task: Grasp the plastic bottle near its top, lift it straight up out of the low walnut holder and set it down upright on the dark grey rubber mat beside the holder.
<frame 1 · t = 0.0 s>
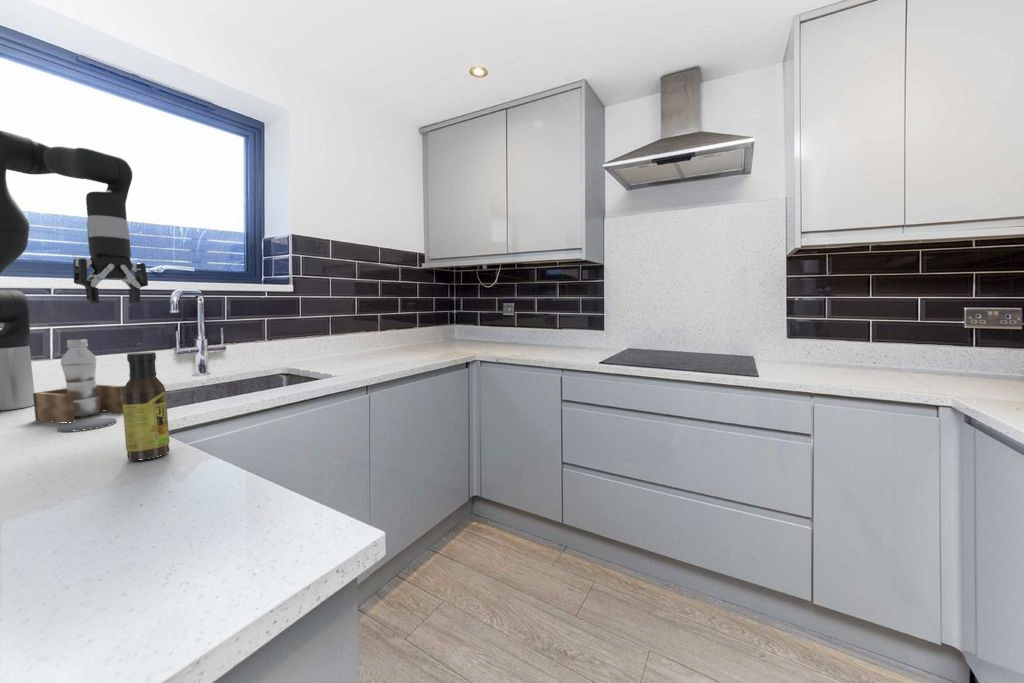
hand: (114, 303, 106), 29 cm above the worktop, tool pointing down, fingers open, 8 cm apart
holder: (84, 416, 111), on the worktop
mat: (88, 425, 102), on the worktop
sauce bottle: (149, 457, 81), on the worktop
plastic bottle: (84, 416, 111), resting in holder
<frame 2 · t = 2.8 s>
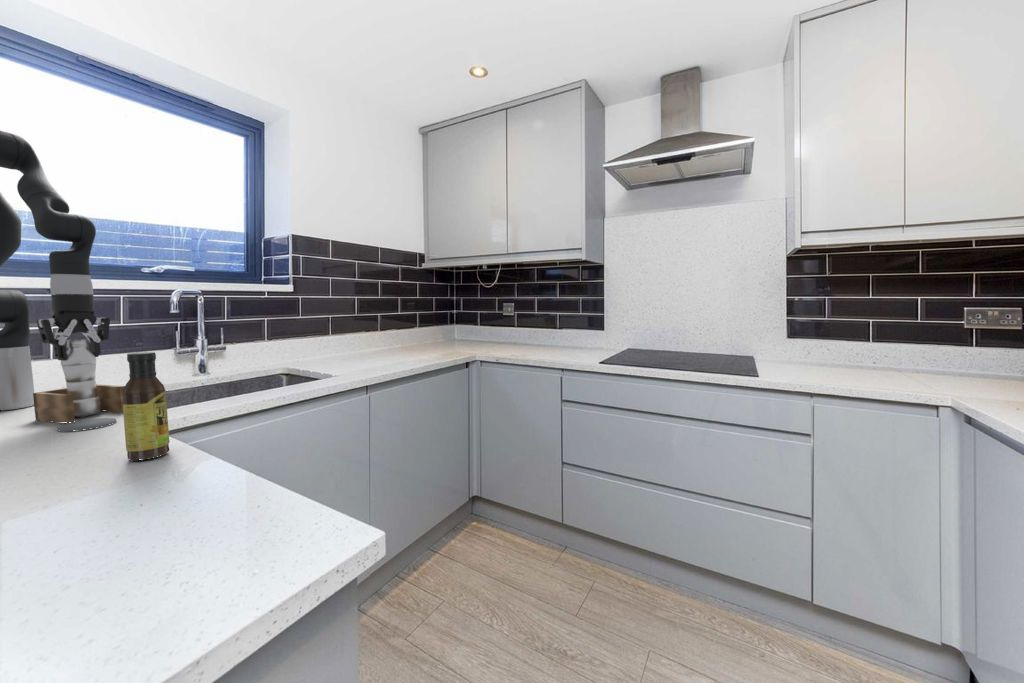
hand: (78, 358, 110), 15 cm above the worktop, tool pointing down, fingers closed on plastic bottle, 6 cm apart
plastic bottle: (84, 416, 111), resting in holder, touching gripper
everything else where it was.
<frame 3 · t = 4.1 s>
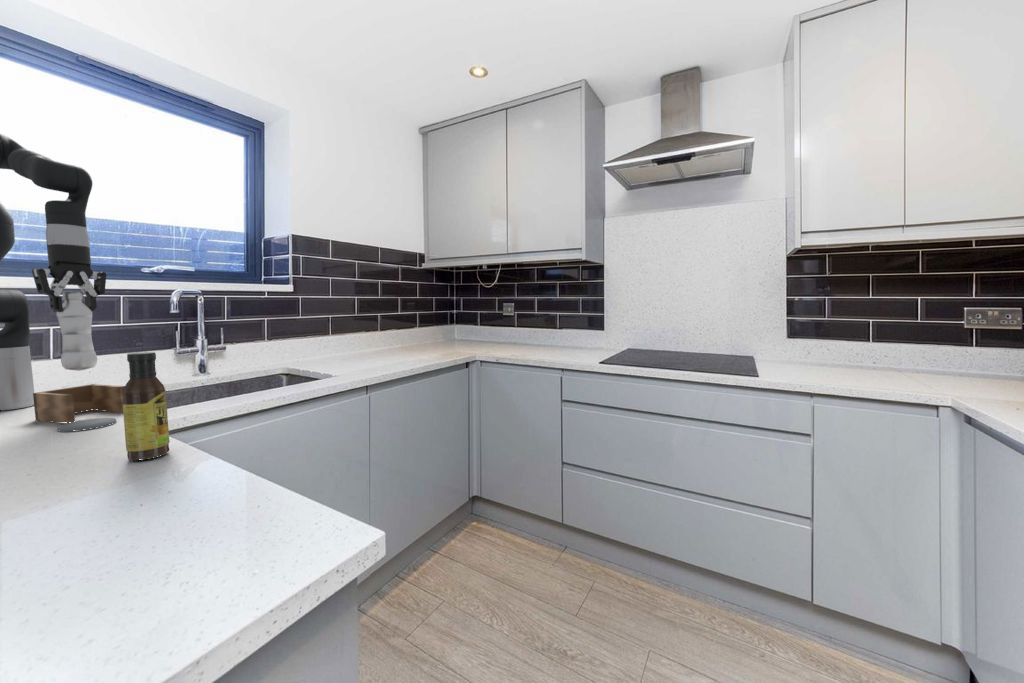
hand: (74, 311, 109), 27 cm above the worktop, tool pointing down, fingers closed on plastic bottle, 6 cm apart
plastic bottle: (80, 370, 110), point 12 cm above the worktop, touching gripper
everything else where it was.
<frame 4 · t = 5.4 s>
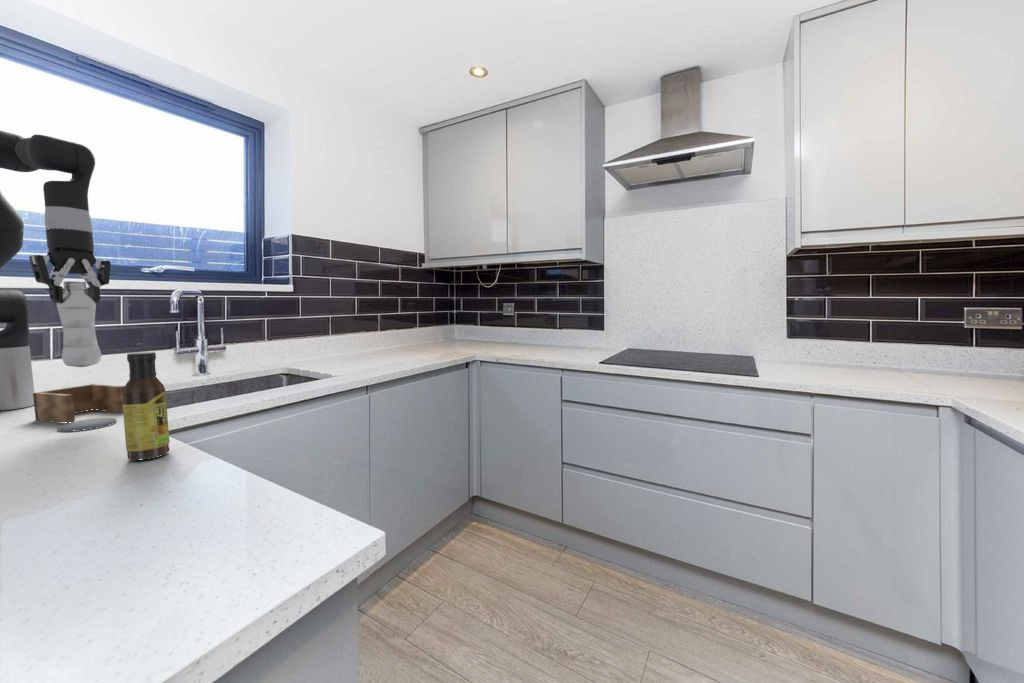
hand: (76, 302, 100), 29 cm above the worktop, tool pointing down, fingers closed on plastic bottle, 6 cm apart
plastic bottle: (83, 367, 101), point 14 cm above the worktop, touching gripper
everything else where it was.
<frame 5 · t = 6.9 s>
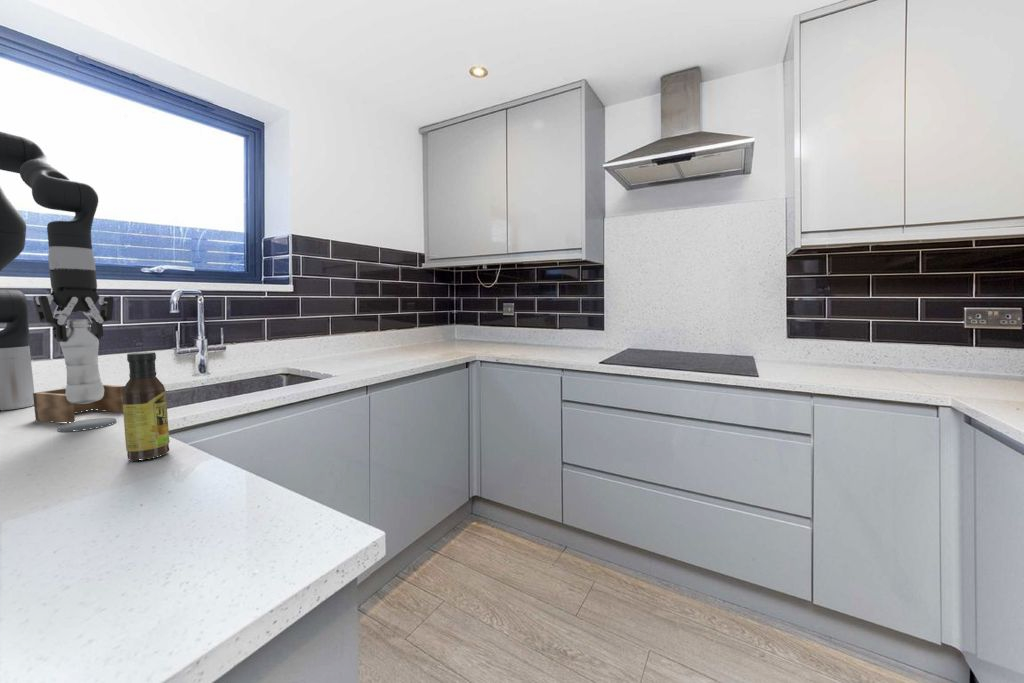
hand: (79, 340, 100), 21 cm above the worktop, tool pointing down, fingers closed on plastic bottle, 6 cm apart
plastic bottle: (86, 403, 102), point 5 cm above the worktop, touching gripper
everything else where it was.
when the fingers open (16 cm above the worktop, at t = 8.3 s): plastic bottle stays where it is, resting on mat.
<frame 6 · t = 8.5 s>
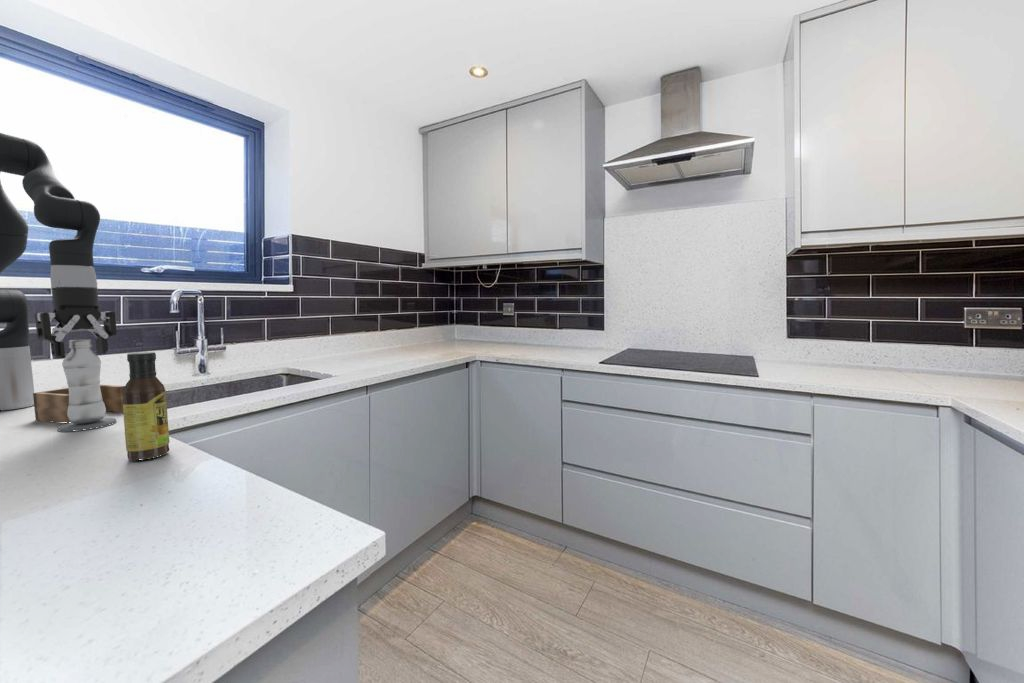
hand: (81, 355, 101), 17 cm above the worktop, tool pointing down, fingers open, 7 cm apart
plastic bottle: (88, 423, 102), resting on mat
everything else where it was.
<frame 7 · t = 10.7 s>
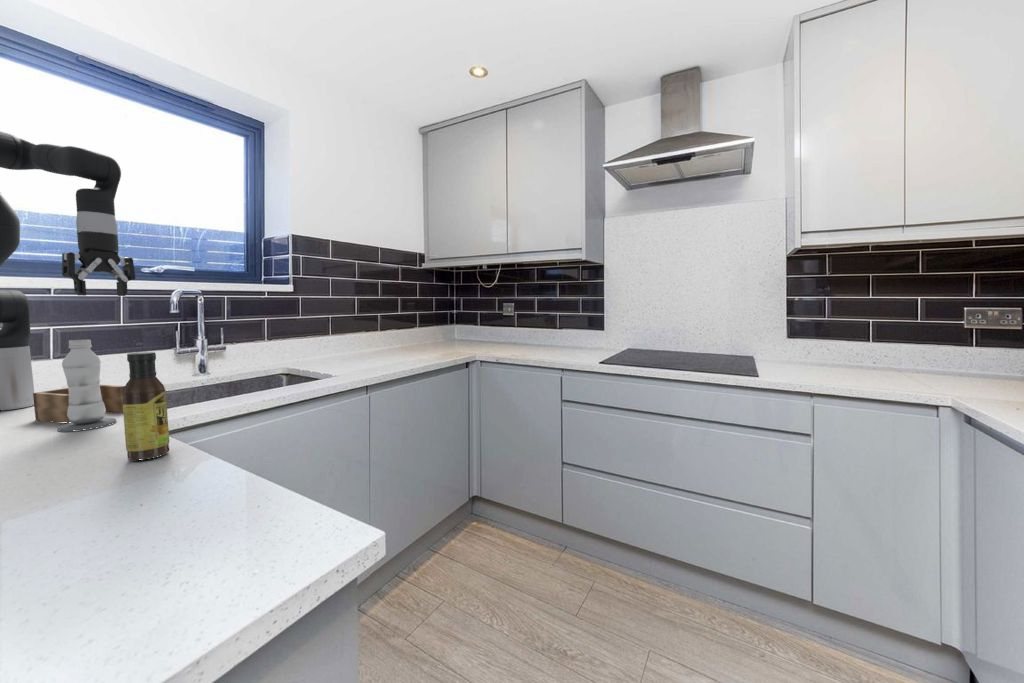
hand: (102, 295, 111), 31 cm above the worktop, tool pointing down, fingers open, 8 cm apart
nothing on the worktop moved.
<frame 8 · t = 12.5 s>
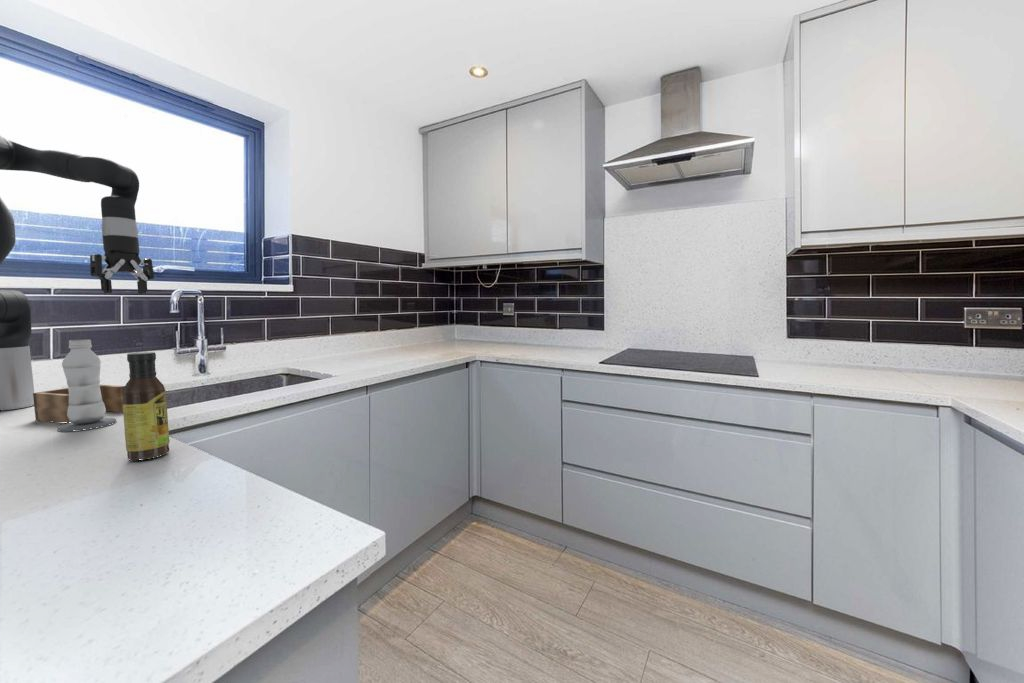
hand: (125, 293, 121), 32 cm above the worktop, tool pointing down, fingers open, 8 cm apart
nothing on the worktop moved.
at the end: plastic bottle 0.2 cm from the mat (horizontally); plastic bottle tilted 0°; the gripper is holding nothing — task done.
